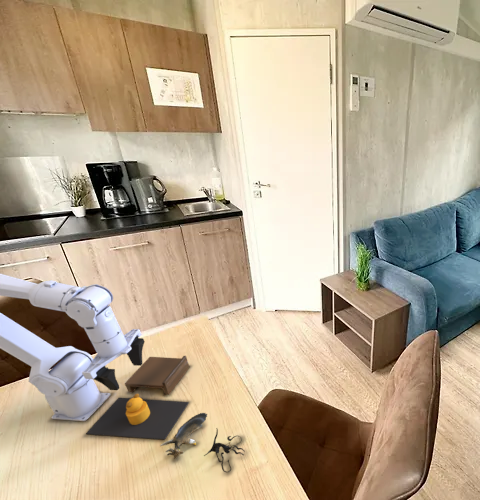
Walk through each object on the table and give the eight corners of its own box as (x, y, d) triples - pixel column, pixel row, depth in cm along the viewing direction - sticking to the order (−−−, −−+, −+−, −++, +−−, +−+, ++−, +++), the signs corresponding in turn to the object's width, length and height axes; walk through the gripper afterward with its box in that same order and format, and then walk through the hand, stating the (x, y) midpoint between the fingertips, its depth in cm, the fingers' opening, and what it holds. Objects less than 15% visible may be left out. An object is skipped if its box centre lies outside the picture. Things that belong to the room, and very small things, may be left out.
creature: (250, 440, 69) (217, 434, 69) (251, 426, 67) (218, 420, 67) (237, 477, 62) (200, 471, 62) (239, 462, 60) (201, 456, 60)
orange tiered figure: (125, 424, 71) (116, 406, 69) (138, 408, 75) (130, 390, 73) (141, 425, 71) (133, 407, 68) (154, 409, 75) (146, 391, 72)
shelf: (128, 392, 80) (123, 380, 78) (152, 364, 89) (148, 353, 87) (168, 394, 80) (164, 382, 78) (189, 367, 89) (186, 355, 87)
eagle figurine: (197, 460, 63) (216, 417, 71) (170, 447, 60) (193, 404, 67) (176, 464, 66) (196, 423, 73) (150, 452, 63) (174, 410, 70)
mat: (86, 434, 69) (85, 433, 69) (119, 398, 78) (118, 397, 78) (164, 440, 68) (164, 439, 68) (188, 402, 77) (188, 401, 77)
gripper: (94, 358, 60) (118, 402, 66) (144, 315, 73) (160, 355, 79) (64, 357, 61) (90, 400, 66) (119, 315, 74) (137, 354, 80)
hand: (127, 376), depth 73 cm, fingers open, 7 cm apart
